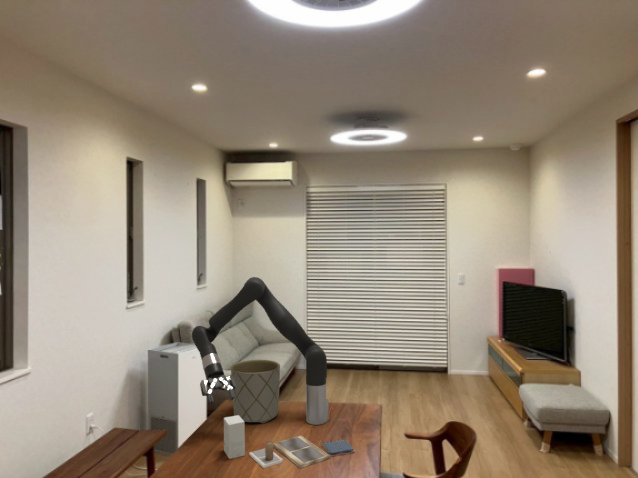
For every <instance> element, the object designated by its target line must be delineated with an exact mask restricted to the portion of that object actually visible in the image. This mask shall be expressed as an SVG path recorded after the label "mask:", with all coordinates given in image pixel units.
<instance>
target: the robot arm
mask: <svg viewBox="0 0 638 478" xmlns="http://www.w3.org/2000/svg"><path fill="white" fill-rule="evenodd" d="M255 301H256V302H257V303H258V304H259V305H260V306H261V308H262V309H263V310H264V312H265V313H266V315H267V317H268V319H269V321H270V322H271V324H272V325H273V326H274V328H275V329H276V330H277V331H278V332H279V333H280V334H281V335H282V336H283V337H284V338H285V339H286V340H287V341H289V342H290V343H292V344H293V345H294V346H295V347H296V348H297V349H298V351H299V352H300V353H301V355H302V356H303V357H304V359H305V369H306V370H305V372H306V373H305V411H306V412H305V413H306V415H305V417H306V419H305V420H306V423H308V424H310V425H316V426H317V425H318V426H319V425H323V424H325V423H327V422H328V421H329V399H328V398H327V378H328V376H327V375H328V370H327V369H328V366H327V365H328V364H327V362H328V359H327V358H328V357H327V354H326V353H325V352H326V351H324V349H323V348H322V347H321V346H320V345H318V344H317V343H316V342H315V341H314V340H313V339H312V338H311V337H310V336H309V335H308V334H307V332H305V329H304V328H303V327H302V325H301V324H300V323H299V322H298V320H297V319H296V318H295V317H294V316H293V315H292V313H291V312H290V311H289V310H288V309H287V308H286V307H285V306H284V304H282V303H281V302H280V301H279V300H278V299H277V298H276V296H274V294H273V293H272V291H271V289H269V287H268V286H267V284H266V283H265V282H264V281H263V280H262V279H261V278H260V277H257V276H256V277H255V276H253V277H250V278H249V279H248V280H246V282H244V284H243V287H242V288H241V289H240V291H239V292H238V293H237V294H236V295H235V296H234V297H233V298H232V299H231V300H229V301H228V302H227V303H226V304H225V305H223V306H222V307H221V308H220V309H218V310H217V311H216V312H214V314H213V315H212V316H211V317H210V318H209V320H208V324H209V327H205V326H203V325H197V326H195V327H194V328H193V329H192V332H191V339H192V342H193V344H194V345H195V347H196V348H197V351H198V352H199V356H200V358H201V359H200V360H201V364H202V369H203V371H204V372H203V373H204V375H205V379H206V380H204V379H202V380H201V381H200V383H199V388H200V391H201V395H202V397H207V401H208V403H209V404H210V405H214V404H215V400H214V397H213V394H212V392H213V390H215V391H216V390H217V391H218V390H222V389H224V391H227V392H228V395H229V399H230V401H233V399H234V397H235V395H234V392H233V390H235V388H236V384H235V381H234V378H233V376H232V375H231V374H230V375H229V376H226V375H225V372H224V368H223V366H222V363H221V360H220V359H221V358H220V357H219V354H218V351H217V348H216V346H215V344H213V343H214V341H215V339H216V338H217V337H218V335H219V334H220V333H221V330H222V329H223V328H224V327H226V325H227V324H228V323H230V322H231V321H232V320H233V319H234V318H235V317H236V316H237V315H238V314H239V313H240V312H241V311H242V310H243V309H244V308H246V307H248V306H249V305H250V304H251V303H254V302H255ZM206 386H208V387H209V389H208V390H207V389H206Z"/></svg>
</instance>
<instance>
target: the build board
mask: <svg viewBox="0 0 638 478" xmlns="http://www.w3.org/2000/svg"><path fill="white" fill-rule="evenodd" d="M274 448H275V449H276V451H278V452H279V453H280V454H282V455H283V456H284V457H285V458H287V459H288V460H289V461H291V463H292V464H294V465H295V466H297V467H298V468H299V469H303V468H305V467H309V466H311V465H315V464H317V463H320V462H323V461H326V460H330V458H331V456H330V455H329V454H328V453H327V451H326V452H325V451H324V450H323V449H322V448H320V447H319V446H317V445H316V444H314V443H312V442H311V441H309V439H307V438H305V437H304V436H303V435H298V436H295V437H291V438H288V439H284V440H280V441H276V442H273V449H274Z"/></svg>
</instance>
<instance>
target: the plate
mask: <svg viewBox="0 0 638 478" xmlns="http://www.w3.org/2000/svg"><path fill="white" fill-rule="evenodd" d="M273 443H274V441H271V440H268V441H266V442H264V448H262V449H258V450H253V451H250V452H249V453H248V454H249V456H250V458H252V459H253V461H254V462H256V463H257V464H258V465H259V466H260V467H261V468H262V469H266V468H268V467H269V468H270V467H272V466H276V465H279V464H282V463H283V462H284V459H283V458H282V457H280V456H279V455H278V454H277V453H276V452H274V447H273Z"/></svg>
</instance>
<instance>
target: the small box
mask: <svg viewBox="0 0 638 478" xmlns="http://www.w3.org/2000/svg"><path fill="white" fill-rule="evenodd" d="M245 425H246V424H245V421H243V420H242V418H241V417H240V416H239V415H237V416H234V415H232V416H225V417H223V450H224V453H225V455H226V456H227V457H228V459H229V460H232V459H235V458H241V457H244V456H246V434H245V433H246V431H245V427H246V426H245Z"/></svg>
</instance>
